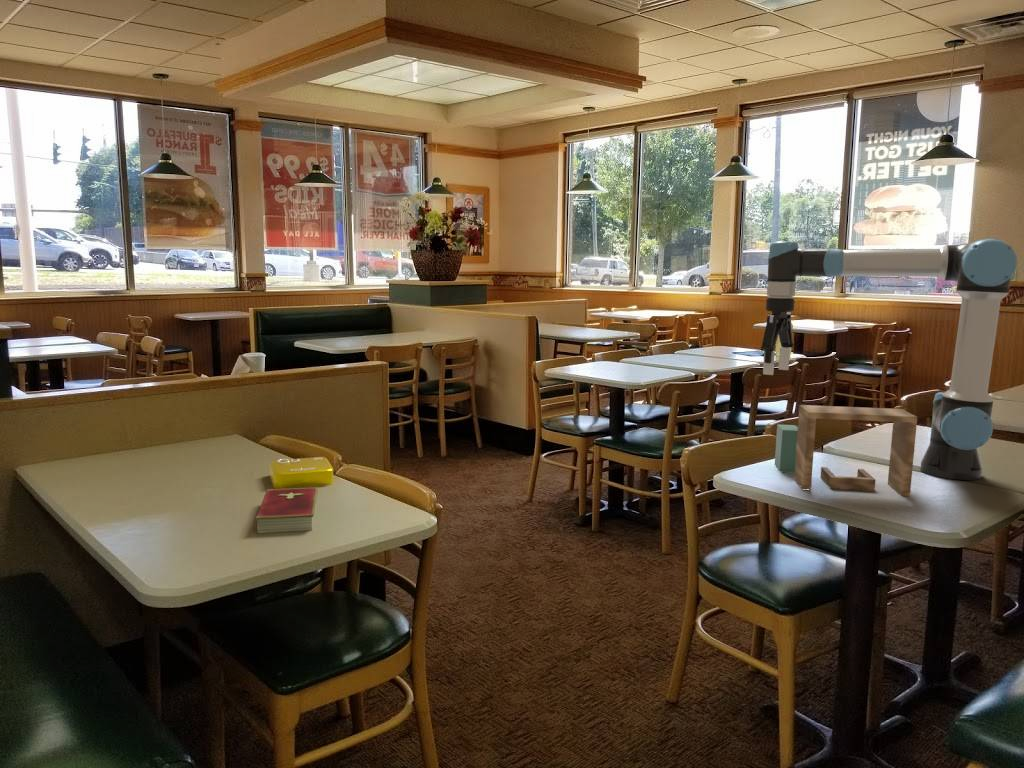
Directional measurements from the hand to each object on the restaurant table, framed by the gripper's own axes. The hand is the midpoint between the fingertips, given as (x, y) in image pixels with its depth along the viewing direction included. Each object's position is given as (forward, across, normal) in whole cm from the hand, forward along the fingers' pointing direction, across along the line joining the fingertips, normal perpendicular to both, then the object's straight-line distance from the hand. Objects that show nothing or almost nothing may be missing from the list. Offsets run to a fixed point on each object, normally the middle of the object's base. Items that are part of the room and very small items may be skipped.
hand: (775, 372), depth 220 cm
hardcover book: (+28, +116, -70) cm, 138 cm away
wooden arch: (+28, +8, +23) cm, 37 cm away
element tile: (+28, +94, -93) cm, 135 cm away
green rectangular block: (+28, 0, +5) cm, 28 cm away
